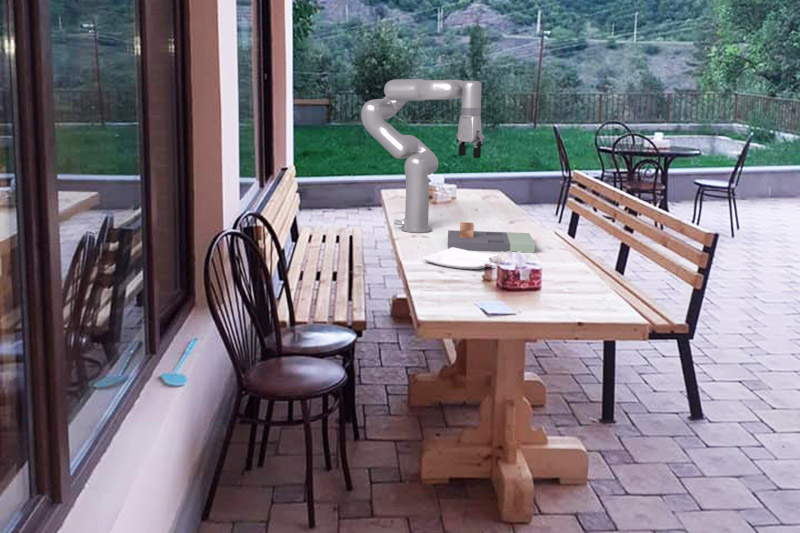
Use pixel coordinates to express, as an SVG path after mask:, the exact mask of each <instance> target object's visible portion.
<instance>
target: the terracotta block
mask: <svg viewBox="0 0 800 533" xmlns="http://www.w3.org/2000/svg"><path fill="white" fill-rule="evenodd" d="M459 231H460V238H473V231H474V222H463V221H462V222H461V221H460V224H459Z"/></svg>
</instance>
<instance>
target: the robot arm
mask: <svg viewBox="0 0 800 533" xmlns="http://www.w3.org/2000/svg"><path fill="white" fill-rule="evenodd" d="M482 88H483V87H482V82H481V81H479V80H461V79H427V80H426V79H425V78H412V79H411V78H408V79H407V78H405V79H404V78H401V79H399V78H398V79H391V80H389V81H387V82H386V84H385V85H384V88H383V92H384V95H385V96H384V97H383V98H376V99H371V100H370V99H369V100H368V101H367V102H365V103H364V104H363V106H362V109H361V112H360V117H361V122H362V124H363V127H364V128H365V130H366V131H367V133H369V135H371V137H373V138H374V139H375V140H376V141H377V142H378V143H379V144H380V145H381V146H382V147H383V148H384V149H385V150H386V151H387V152H389V154H390V155H391V156H392V157H394V158H395V159H398V160H403V159H406V160H405V162H404V175H405V212H404V215H405V217H404V219H394V221H393V222H394V225H396V226H397V225H398V226H400V227H401V228H400V230H401V231H403V232H407V233H418V234H419V233H422V234H423V233H428V232H432V230H433V228H432V227H431V226H429V212H430V211H429V210H430V209H429V207H430V203H429V202H430V182H429V176H430V175H432V174H434V173H435V172H436V171H437V170H438V169H439V160H438V157H437V155H435V153H434V152H433V151H432V150H431V149H430V148H429V147H428V146H426V144H424V143H423V142H422V141H421V140H420V138H419V139H418V137H416V136H414V135H411V134H401V133H400V132H399V131H398V130H397V129H395V127H394V126H393V125H392V124H390V123H388V122H387V121H386V120H388V119H391V118H393V116H395V115H396V114H397V113H398V112H399V111H400V110H401V109H402V108H403V107H404V106H405V105H406V103H408V101H410V102H411V101H419V102H420V101H421V102H422V101H423V102H424V101H427V100H433V101H434V100H440V101H442V100H443V101H444V100H446V101H447V100H459V99H461V112H460V113H461V114H460V116H459V121H458V128H457V132H456V133H455V136H456V141H457V146H458V156H459V157H460V156H461V157H463V156H466V155H467V153H466V152H467V146H466V145H467V143H471V144H473V151H472V152H473V154H472V158H473V159H481V154H482V153H481V152H482V148H483V145H484V142H485V139H486V137H485V136H484V135H483V134H482V119H481V118H482V117H481V114H482V113H481V112H482V111H481V110H482V90H483V89H482Z"/></svg>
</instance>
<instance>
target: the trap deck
mask: <svg viewBox="0 0 800 533" xmlns="http://www.w3.org/2000/svg"><path fill="white" fill-rule="evenodd" d="M451 247H454V248H459V249H463V250H468V251H473V252H495V253H497V252H499V253H500V252H501V251H521V252H520V253H524V252H526V253H528V254H534V253H535V247H536V245H535V243H534V240H533V239H532V236H531V234H530V232H512V231H511V232H509V231H507V232H505V231H504V232H503V231H480V230H479V231H475V230H473V238H460V230H449V229H448V230H447V249H449V248H451ZM501 253H502V252H501Z"/></svg>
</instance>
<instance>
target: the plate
mask: <svg viewBox="0 0 800 533" xmlns="http://www.w3.org/2000/svg"><path fill="white" fill-rule="evenodd" d="M497 255H501V254H499V253H498V254H497V253H486V252H481V251H468V250H463V249H459V248H454V247H451V248H449V249H448V248H446V249H445V250H442V251H439V252H436V253H433V254H430V255H425V256H422V257H421V259H422V260H424V261H425V262H428V263H431V264H435V265H437V266H442V267H446V268H452V269H458V270H459V269H460V270H472V269H476V270H483V269H484V268H483V267H484V263H486V261H488V260H489V258H490V257H492V256H497ZM482 268H483V269H482Z"/></svg>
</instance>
